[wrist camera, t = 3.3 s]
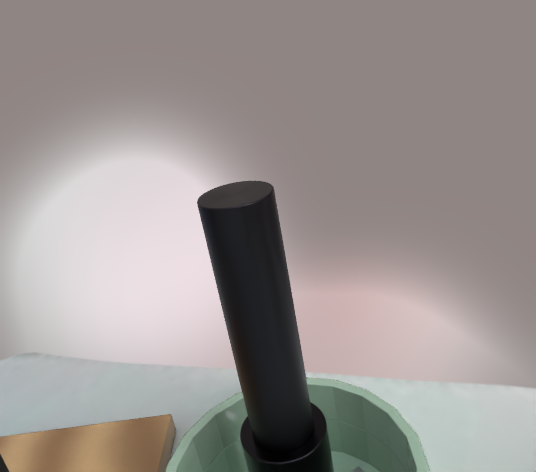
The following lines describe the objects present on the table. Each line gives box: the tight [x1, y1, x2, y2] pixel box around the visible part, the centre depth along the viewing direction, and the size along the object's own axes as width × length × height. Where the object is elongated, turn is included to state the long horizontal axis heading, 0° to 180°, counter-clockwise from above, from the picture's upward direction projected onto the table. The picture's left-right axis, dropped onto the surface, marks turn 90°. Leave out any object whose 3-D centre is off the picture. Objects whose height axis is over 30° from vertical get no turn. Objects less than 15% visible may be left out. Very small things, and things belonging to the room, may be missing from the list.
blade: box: [197, 181, 364, 472], centre depth 23 cm, size 9×9×20 cm
